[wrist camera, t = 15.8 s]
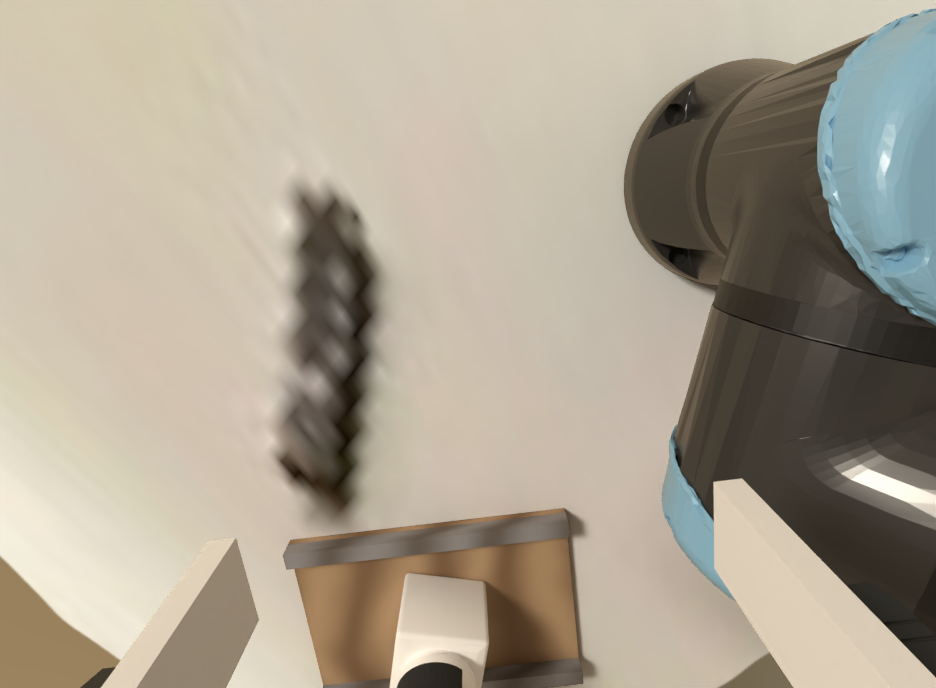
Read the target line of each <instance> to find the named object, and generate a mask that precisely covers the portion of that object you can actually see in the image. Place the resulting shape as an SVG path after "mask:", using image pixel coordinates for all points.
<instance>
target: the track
mask: <svg viewBox="0 0 936 688" xmlns="http://www.w3.org/2000/svg"><path fill="white" fill-rule="evenodd" d="M568 537H570V532H569V522H568V519H567V516H566V513H565V509H564V508H562V509H554V510H545V511H537V512H528V513H519V514H511V515H502V516H494V517H485V518H476V519H468V520H459V521H451V522H442V523H434V524H425V525H416V526H408V527H399V528H391V529H382V530H373V531H365V532H356V533H348V534H339V535H330V536H322V537H313V538H305V539H296V540H290V542H289V544H288V546H287V548H286V550H285V552H284V554H283V558H284V562H285V566H286V570H288V569H295V573H296V577H297V581H298V585H299V589H300V593H301V597H302V601H303V605H304V609H305V613H306V617H307V621H308V625H309V629H310V633H311V637H312V641H313V645H314V649H315V653H316V657H317V661H318V665H319V669H320V673H321V677H322V681H323V685H324V686H323V688H390V680H391V672H392V664H393V655H394V647H395V639H396V632H397V625H398V619H399V612H400V606H401V599H402V593H403V587H404V580H405V576H406V574H407V573H415V574H424V575H433V576H442V577H451V578H460V579H469V580H478V581H484V582H485V584H486V597H487V616H488V634H489V647H488V652H487V658H486V663H485V669H484V675H483V680H482V686H481V688H548V687H557V686H566V685H576V684H583V676H582V669H581V665H580V661H579V655H578V644H577V633H576V622H575V611H574V601H573V590H572V579H571V568H570V557H569V546H568Z"/></svg>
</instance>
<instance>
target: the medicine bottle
mask: <svg viewBox="0 0 936 688" xmlns="http://www.w3.org/2000/svg"><path fill="white" fill-rule="evenodd" d="M488 647H489V634H488V616H487V597H486V584H485V582H484V581H478V580H469V579H460V578H451V577H442V576H433V575H424V574H415V573H407V574H406V576H405V580H404V587H403V593H402V599H401V606H400V612H399V619H398V625H397V632H396V639H395V647H394V655H393V664H392V672H391V680H390V688H481V686H482V680H483V675H484V669H485V663H486V658H487V652H488Z"/></svg>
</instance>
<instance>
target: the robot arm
mask: <svg viewBox="0 0 936 688" xmlns="http://www.w3.org/2000/svg"><path fill="white" fill-rule="evenodd" d="M624 196H625V204H626V210H627V214H628V218H629V221H630V224H631V226H632V228H633V231H634V233H635V235H636V237H637V238H638V240H639V241H640V243H641V244H642V246H643V247H644V249H645V250H646V251H647V252H648V253H649V254H650V255H651V256H652V257H653V258H654V259H655V260H656V261H657V262H658V263H660V264H661V265H662V266H664V267H665V268H667V269H668V270H670V271H672V272H674V273H676V274H678V275H681V276H683V277H686V278H688V279H691V280H694V281H697V282H700V283H704V284H709V285H717V286H718V288H717V292H716V295H715V299H714V302H713V304H712V306H711V310H710V313H709V317H708V320H707V324H706V327H705V331H704V335H703V338H702V342H701V345H700V349H699V352H698V356H697V359H696V363H695V367H694V370H693V374H692V377H691V381H690V384H689V388H688V392H687V395H686V399H685V402H684V405H683V408H682V412H681V415H680V418H679V422H678V425H676V426H675V428H674V430H673V432H672V435H671V439H670V441H669V455H670V457H669V462H668V467H667V471H666V476H665V480H664V484H663V490H662V505H663V511H664V515H665V518H666V520H667V522H668V524H669V525H670V527H671V528H672V532H673V535H674V538H675V540H676V541H677V543H678V545H679V546H680V547H681V549H682V550H683V552H684V553H685V554H686V555H687V557H688V558H689V559H690V560H691V562H692V563H693V564H694V565H695V566H696V567H697V568H698V569H699V570H700V571H701V572H702V573H703V574H704V575H705V576H706V577H707V578H708V579H709V580H710V581H711V582H712V583H713V584H714V585H715V586H717V587H718V588H719V589H720V590H721V591H723V592H724V593H725V594H726V595H727V596H729V597H730V598H731V599H733V600H734V601H735V602H737V603H738V605H739V606H740V608H741V609H742V611H743V612H744V614H745V615H746V617H747V618H748V620H749V621H750V623H751V624H752V626H753V627H754V629H755V630H756V632H757V633H758V635H759V636H760V638H761V639H762V641H763V642H764V644H765V645H766V647H767V648H768V650H769V652H770V653H771V655H772V656H773V657H774V659H775V661H776V662H777V663H778V665H779V667H780V668H781V670H782V671H783V673H784V674H785V675H786V677H787V679H788V680H789V682H790V683H791V685H792V686H793V688H936V9H929V10H924V11H922V12H921V13H919V14H910V15H907V16H905V17H902V18H899V19H897V20H895V21H893V22H891V23H889V24H887V25H885V26H884V27H882V28H881V29H880V30H878V31H877V32H875V33H872V34H870V35H867V36H865V37H862V38H860V39H857V40H855V41H852V42H850V43H847V44H845V45H842V46H840V47H838V48H835V49H833V50H830V51H828V52H825V53H823V54H820V55H818V56H815V57H813V58H810V59H808V60H805V61H803V62H800V63H798V64H795V65H794V64H790V63H786V62H782V61H778V60H772V59H744V60H737V61H731V62H728V63H724V64H721V65H718V66H715V67H713V68H710V69H708V70H706V71H704V72H702V73H700V74H698V75H696V76H694V77H692V78H690V79H688V80H686V81H685V82H683V83H682V84H680V85H679V86H677V87H676V88H674V89H673V90H672V91H671V92H669V93H668V94H667V95H666V96H665V97H664V98H663V99H662V100H661V101H660V102H659V103H658V104H657V105H656V106H655V107H654V108H653V110H652V111H651V112H650V113H649V115H648V116H647V118H646V119H645V121H644V122H643V124H642V125H641V127H640V129H639V131H638V133H637V135H636V137H635V139H634V141H633V144H632V146H631V149H630V152H629V156H628V159H627V164H626V169H625V178H624ZM258 620H259V619H258V615H257V612H256V608H255V604H254V601H253V597H252V594H251V590H250V586H249V583H248V579H247V576H246V572H245V568H244V565H243V561H242V558H241V554H240V550H239V547H238V543H237V540H236V538H229V539H220V540H211V541H208V543H207V544H206V545H205V547H204V548H203V549H202V551H201V552H200V554H199V555H198V556H197V558H196V559H195V560H194V562H193V563H192V564H191V566H190V567H189V568H188V570H187V571H186V573H185V574H184V575H183V577H182V578H181V579H180V581H179V582H178V583H177V585H176V586H175V588H174V589H173V590H172V592H171V593H170V594H169V596H168V597H167V598H166V600H165V601H164V602H163V604H162V605H161V607H160V608H159V609H158V611H157V612H156V613H155V615H154V616H153V617H152V619H151V620H150V622H149V623H148V624H147V626H146V627H145V628H144V630H143V631H142V632H141V634H140V635H139V636H138V638H137V639H136V641H135V642H134V643H133V645H132V646H131V647H130V649H129V650H128V651H127V653H126V654H125V656H124V657H123V658H122V660H121V661H120V662H119V664H118V665H117V666H116V667H114V668H105V669H102V670H101V671H99V672H98V673H97V674H96V675H95V676H94V677H92V678H91V679H90V680H89V681H88V682H87V683H85V684H84V685H83V686H82V687H81V688H226V687H227V685H228V683H229V681H230V678H231V676H232V674H233V672H234V670H235V668H236V666H237V664H238V662H239V660H240V658H241V656H242V654H243V652H244V649H245V647H246V645H247V643H248V641H249V639H250V637H251V635H252V633H253V631H254V629H255V627H256V625H257V622H258Z"/></svg>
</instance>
